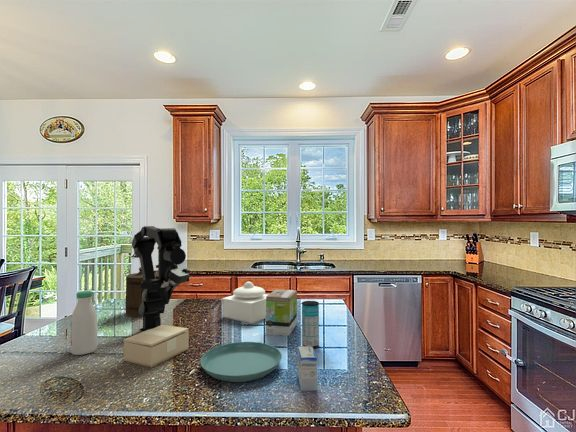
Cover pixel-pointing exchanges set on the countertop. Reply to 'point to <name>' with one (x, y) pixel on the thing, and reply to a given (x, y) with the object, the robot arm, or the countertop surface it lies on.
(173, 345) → the cardboard box
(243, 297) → the white square canister
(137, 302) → the wooden container
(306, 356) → the medicine box
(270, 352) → the green plate
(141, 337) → the lid
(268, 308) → the tea box
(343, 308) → the countertop surface
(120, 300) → the countertop surface
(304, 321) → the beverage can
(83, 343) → the milk bottle
